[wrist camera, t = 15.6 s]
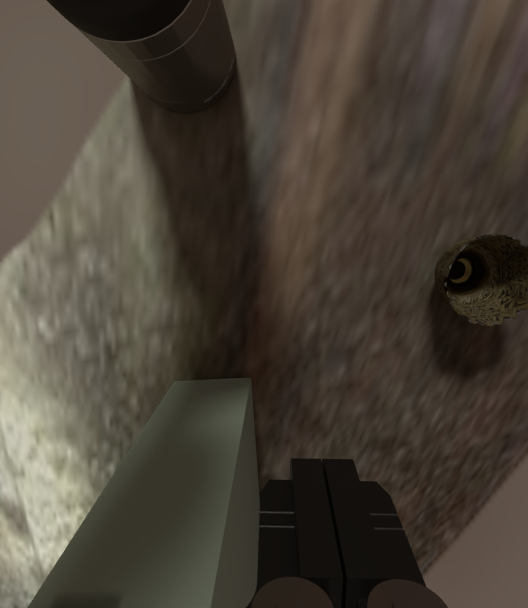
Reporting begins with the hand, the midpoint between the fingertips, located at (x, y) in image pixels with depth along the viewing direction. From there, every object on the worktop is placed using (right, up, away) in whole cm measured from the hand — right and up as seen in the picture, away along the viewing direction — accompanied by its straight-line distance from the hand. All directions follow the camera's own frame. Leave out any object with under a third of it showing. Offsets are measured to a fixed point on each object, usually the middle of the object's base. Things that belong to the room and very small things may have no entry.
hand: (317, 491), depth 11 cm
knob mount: (-6, -13, +37) cm, 40 cm away
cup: (+17, +8, +33) cm, 38 cm away
